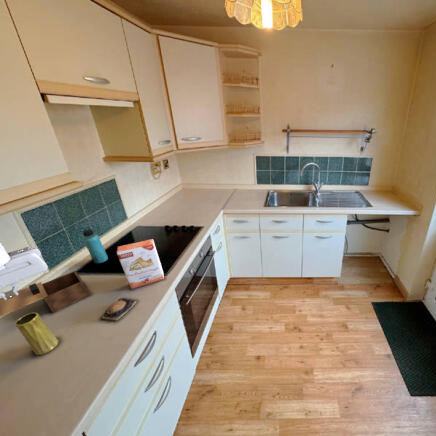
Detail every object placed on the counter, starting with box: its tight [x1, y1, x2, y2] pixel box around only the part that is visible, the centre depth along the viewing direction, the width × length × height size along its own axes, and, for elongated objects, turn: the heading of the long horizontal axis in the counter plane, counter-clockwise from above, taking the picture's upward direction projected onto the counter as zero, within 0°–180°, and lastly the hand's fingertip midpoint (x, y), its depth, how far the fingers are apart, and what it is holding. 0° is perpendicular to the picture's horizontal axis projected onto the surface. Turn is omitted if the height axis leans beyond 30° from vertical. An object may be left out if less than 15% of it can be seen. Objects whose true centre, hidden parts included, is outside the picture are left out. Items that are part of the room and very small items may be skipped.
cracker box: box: [116, 238, 165, 290], centre depth 107 cm, size 14×6×21 cm, turn 119°
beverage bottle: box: [82, 229, 109, 264], centre depth 121 cm, size 6×7×20 cm
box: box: [42, 270, 91, 314], centre depth 100 cm, size 13×13×8 cm
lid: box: [0, 281, 48, 318], centre depth 90 cm, size 13×13×3 cm
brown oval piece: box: [101, 297, 137, 322], centre depth 95 cm, size 11×8×4 cm
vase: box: [14, 312, 59, 356], centre depth 78 cm, size 6×6×14 cm
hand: (11, 296), depth 71 cm, fingers closed
